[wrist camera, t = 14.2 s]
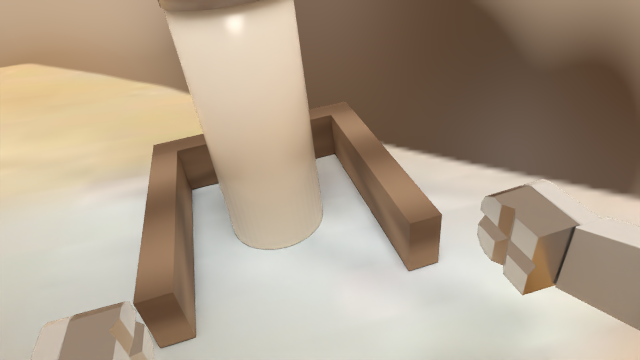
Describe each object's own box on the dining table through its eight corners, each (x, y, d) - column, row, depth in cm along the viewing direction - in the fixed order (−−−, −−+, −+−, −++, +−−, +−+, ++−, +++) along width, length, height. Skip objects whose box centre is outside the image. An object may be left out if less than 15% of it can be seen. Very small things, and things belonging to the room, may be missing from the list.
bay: (437, 262, 19) (441, 214, 17) (160, 348, 17) (133, 303, 15) (348, 138, 29) (345, 101, 28) (169, 182, 27) (153, 145, 26)
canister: (323, 248, 21) (281, -32, 13) (222, 253, 21) (126, -13, 14) (325, 185, 25) (295, -51, 18) (241, 191, 26) (177, -36, 18)
